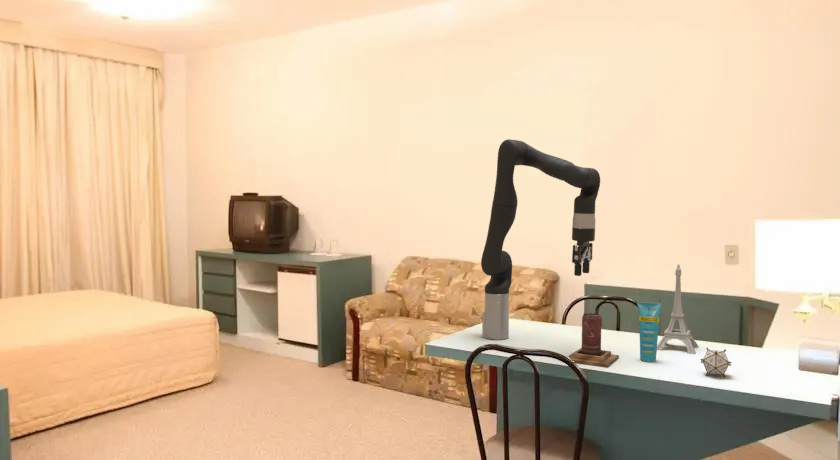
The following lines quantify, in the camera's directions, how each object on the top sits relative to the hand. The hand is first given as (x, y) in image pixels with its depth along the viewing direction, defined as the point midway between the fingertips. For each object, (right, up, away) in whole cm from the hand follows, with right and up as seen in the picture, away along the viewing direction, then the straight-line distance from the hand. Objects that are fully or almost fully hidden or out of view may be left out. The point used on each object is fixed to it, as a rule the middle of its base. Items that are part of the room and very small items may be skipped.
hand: (581, 274), depth 216 cm
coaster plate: (+2, -28, -7) cm, 29 cm away
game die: (+34, -29, -25) cm, 51 cm away
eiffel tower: (+37, -27, +10) cm, 47 cm away
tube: (+20, -28, -8) cm, 35 cm away
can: (+1, -27, -7) cm, 28 cm away
